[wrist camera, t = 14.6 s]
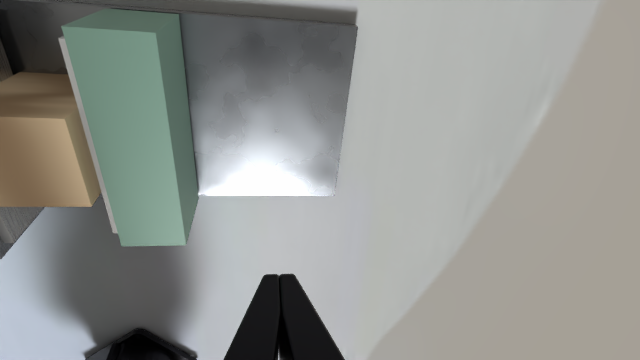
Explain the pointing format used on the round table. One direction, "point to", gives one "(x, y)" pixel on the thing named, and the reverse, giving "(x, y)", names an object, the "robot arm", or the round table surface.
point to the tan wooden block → (43, 144)
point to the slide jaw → (136, 120)
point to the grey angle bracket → (222, 95)
